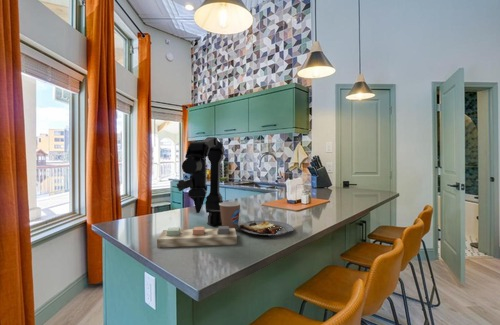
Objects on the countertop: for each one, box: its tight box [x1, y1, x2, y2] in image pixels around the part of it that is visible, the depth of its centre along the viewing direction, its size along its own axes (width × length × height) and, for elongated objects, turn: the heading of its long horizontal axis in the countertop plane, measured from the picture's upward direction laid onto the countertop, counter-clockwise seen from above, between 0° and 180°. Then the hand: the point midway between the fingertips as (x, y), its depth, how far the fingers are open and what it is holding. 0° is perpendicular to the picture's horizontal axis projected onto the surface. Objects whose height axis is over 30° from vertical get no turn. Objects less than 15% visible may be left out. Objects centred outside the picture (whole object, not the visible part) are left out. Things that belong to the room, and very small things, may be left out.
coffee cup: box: [219, 201, 242, 231], centre depth 120 cm, size 10×10×12 cm
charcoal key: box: [217, 225, 229, 234], centre depth 103 cm, size 4×4×4 cm
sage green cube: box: [166, 226, 181, 236], centre depth 101 cm, size 4×4×4 cm
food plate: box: [238, 219, 295, 237], centre depth 117 cm, size 25×23×4 cm
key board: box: [156, 228, 238, 248], centre depth 102 cm, size 30×12×3 cm, turn 98°
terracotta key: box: [192, 226, 206, 235], centre depth 102 cm, size 4×4×4 cm
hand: (198, 211), depth 102 cm, fingers open, 7 cm apart
